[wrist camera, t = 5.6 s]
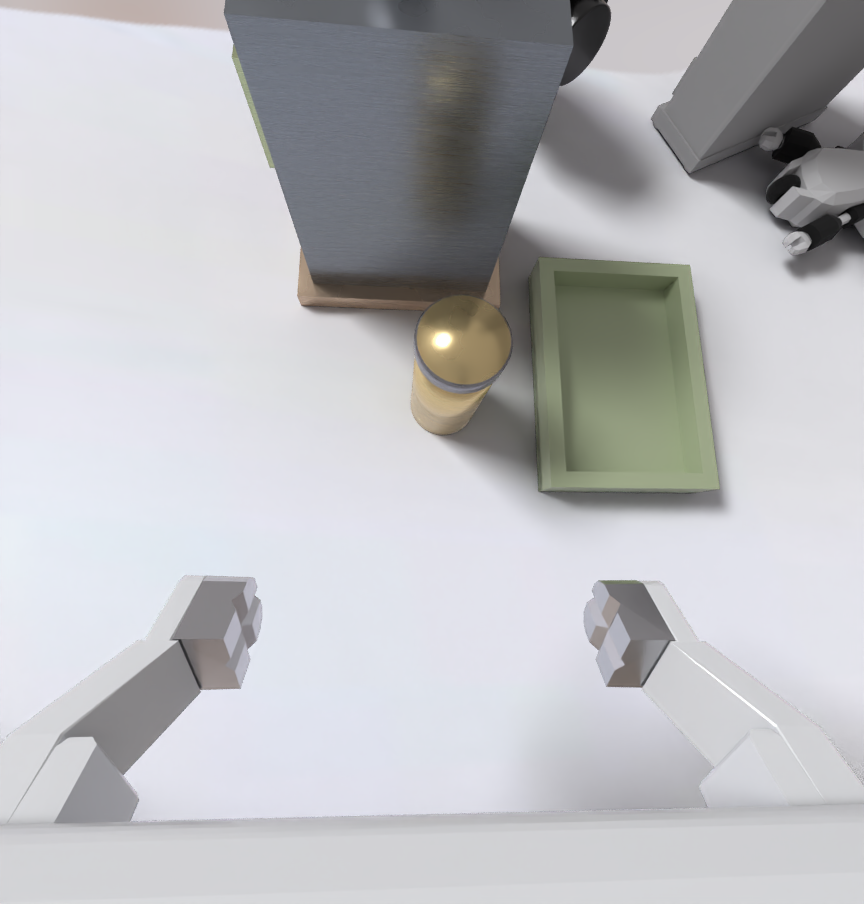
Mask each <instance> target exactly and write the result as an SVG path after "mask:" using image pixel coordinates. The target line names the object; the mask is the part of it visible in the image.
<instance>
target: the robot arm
mask: <svg viewBox="0 0 864 904" xmlns="http://www.w3.org/2000/svg"><path fill="white" fill-rule="evenodd" d="M256 590H257V584H256V581H255V578H252V577H228V576H194V575H185V576H184V577H183V578H182V579H180V580H179V581H178V583H177V585H176V586H175V588H174V590H173V591H172V593H171V595H170V597H169V598H168V600H167V602H166V603H165V605H164V607H163V609H162V610H161V612H160V614H159V616H158V617H157V619H156V621H155V622H154V624H153V626H152V628H151V629H150V631H149V633H148V634H147V636H146V638H145V640H137V641H135V642H134V643H133V644H131V645H130V646H129V647H127V648H126V649H125V650H123V651H122V652H120V653H119V654H118V655H116V656H115V657H114V658H112V659H111V660H110V661H108V662H107V663H105V664H104V665H103V666H101V667H100V668H99V669H97V670H96V671H95V672H93V673H92V674H91V675H89V676H88V677H86V678H85V679H84V680H82V681H81V682H80V683H78V684H77V685H76V686H74V687H73V688H71V689H70V690H69V691H67V692H66V693H65V694H63V695H62V696H61V697H59V698H58V699H56V700H55V701H54V702H52V703H51V704H50V705H48V706H47V707H46V708H44V709H43V710H42V711H40V712H39V713H37V714H36V715H35V716H33V717H32V718H31V719H29V720H28V721H27V722H25V723H24V724H22V725H21V726H20V727H18V728H17V729H16V730H14V731H13V732H12V733H10V734H9V735H8V736H7V737H6V738H5V740H4V741H3V742H2V744H1V745H0V904H864V786H863V784H862V783H861V782H860V780H859V779H858V778H857V776H856V775H855V773H854V772H853V771H852V769H851V768H850V767H849V765H848V764H847V763H846V761H845V760H844V759H843V757H842V756H841V754H840V753H839V752H838V750H837V749H836V748H835V746H834V745H833V744H832V742H831V741H830V739H829V738H828V737H827V735H826V734H825V733H824V731H823V730H822V729H821V727H820V726H818V725H817V724H816V723H814V722H813V721H812V720H810V719H809V718H808V717H806V716H805V715H804V714H802V713H801V712H800V711H798V710H797V709H796V708H794V707H793V706H792V705H790V704H789V703H787V702H786V701H785V700H783V699H782V698H781V697H779V696H778V695H777V694H775V693H774V692H773V691H771V690H770V689H769V688H767V687H766V686H765V685H763V684H762V683H761V682H759V681H758V680H757V679H755V678H754V677H753V676H751V675H750V674H749V673H747V672H746V671H745V670H743V669H742V668H741V667H739V666H738V665H737V664H735V663H734V662H732V661H731V660H730V659H728V658H727V657H726V656H724V655H723V654H722V653H720V652H719V651H718V650H716V649H715V648H714V647H712V646H711V645H710V644H708V643H707V642H704V641H699V640H698V638H697V637H696V635H695V633H694V632H693V630H692V628H691V627H690V625H689V624H688V622H687V620H686V619H685V617H684V616H683V614H682V612H681V611H680V609H679V608H678V606H677V604H676V603H675V601H674V600H673V598H672V596H671V595H670V593H669V591H668V590H667V588H666V587H665V585H664V584H663V583H661V582H660V581H636V580H608V581H597V582H596V583H595V584H594V586H593V589H592V593H593V595H594V598H593V599H591V600H590V601H588V602H587V604H586V607H585V610H584V627H585V631H586V634H587V637H588V640H589V642H590V643H591V644H592V645H593V646H594V647H595V648H597V649H598V650H599V651H598V654H597V657H596V661H597V664H598V666H599V669H600V672H601V674H602V677H603V679H604V682H605V685H606V687H640V688H642V691H643V692H644V693H645V694H646V695H647V696H648V697H649V698H650V699H651V700H652V701H653V702H654V703H655V705H656V706H657V707H658V708H659V709H660V710H661V711H662V712H663V713H664V714H665V715H666V716H667V717H668V719H669V720H670V721H671V722H672V723H673V724H674V725H675V726H676V727H677V728H678V729H679V730H680V731H681V733H682V734H683V735H684V736H685V737H686V738H687V739H688V740H689V741H690V742H691V743H692V744H693V745H694V746H695V748H696V749H697V750H698V751H699V752H700V753H701V754H702V755H703V756H704V757H705V758H706V759H707V760H708V762H709V763H710V764H711V765H712V766H713V767H714V768H713V769H712V770H711V772H710V773H709V774H708V775H707V776H706V777H705V778H704V779H703V780H702V781H701V784H700V786H699V789H700V791H701V794H702V796H703V798H704V800H705V802H706V805H707V807H708V808H670V809H628V810H586V811H544V812H502V813H461V814H419V815H377V816H335V817H294V818H253V819H212V820H171V821H130V820H131V818H132V816H133V813H134V811H135V809H136V806H137V804H138V802H139V798H138V795H137V792H136V791H135V790H134V789H133V787H132V786H131V785H130V783H129V782H128V781H127V780H126V778H125V777H124V776H123V775H124V774H125V773H126V772H127V771H128V769H129V768H130V767H131V766H132V765H133V764H134V763H135V762H136V761H137V760H138V759H139V758H140V757H141V756H142V754H143V753H144V752H145V751H146V750H147V749H148V748H149V747H150V746H151V745H152V744H153V743H154V742H155V741H156V740H157V738H158V737H159V736H160V735H161V734H162V733H163V732H164V731H165V730H166V729H167V728H168V727H169V726H170V725H171V723H172V722H173V721H174V720H175V719H176V718H177V717H178V716H179V715H180V714H181V713H182V712H183V711H184V710H185V709H186V707H187V706H188V705H189V704H190V703H191V702H192V701H193V700H194V699H195V698H196V697H197V696H198V695H199V694H200V692H201V691H200V690H211V689H241V686H242V683H243V680H244V677H245V674H246V671H247V668H248V665H249V662H250V656H249V653H248V648H249V647H251V646H252V645H253V644H254V643H255V642H256V641H257V638H258V635H259V632H260V628H261V622H262V605H261V600H260V599H259V598H257V597H256V596H255V593H256Z"/></svg>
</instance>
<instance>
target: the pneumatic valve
mask: <svg viewBox="0 0 864 904" xmlns="http://www.w3.org/2000/svg"><path fill="white" fill-rule="evenodd" d="M607 2H608V0H570V8H571V20H572V32H573V45H574V46H573V49H572V52H571V54H570V57H569V60H568V63H567V66H566V68H565V71H564V74H563V77H562V80H561V83H560V85H559V86H563V85H566V84H568V83H570V82H571V81H573V80H574V79H575V78H576V77H578V76H579V75H580V74H581V73H582V72H583V71H584V70H585V69H586V67H587V66H588V65H589V64H590V62H591V61H592V60H593V58H594V57H595V55H596V54H597V52H598V51H599V49H600V47H601V45H602V43H603V41H604V39H605V37H606V34H607V32H608V29H609V26H610V21H611V11H610V8H609V6H608V5H607Z"/></svg>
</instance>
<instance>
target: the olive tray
mask: <svg viewBox="0 0 864 904" xmlns="http://www.w3.org/2000/svg"><path fill="white" fill-rule="evenodd" d="M528 283H529V304H530V325H531V346H532V366H533V387H534V408H535V429H536V450H537V470H538V491H540V492H635V493H697V492H704V491H710V490H717V489H720V487H719V479H718V472H717V464H716V456H715V449H714V441H713V434H712V426H711V419H710V411H709V404H708V396H707V389H706V381H705V374H704V366H703V359H702V351H701V344H700V336H699V329H698V321H697V314H696V306H695V299H694V291H693V284H692V276H691V269H690V265H680V264H661V263H643V262H624V261H605V260H586V259H567V258H549V257H539V258H538V260H537V262H536V264H535V266H534V268H533V270H532V272H531V274H530V276H529V278H528Z"/></svg>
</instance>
